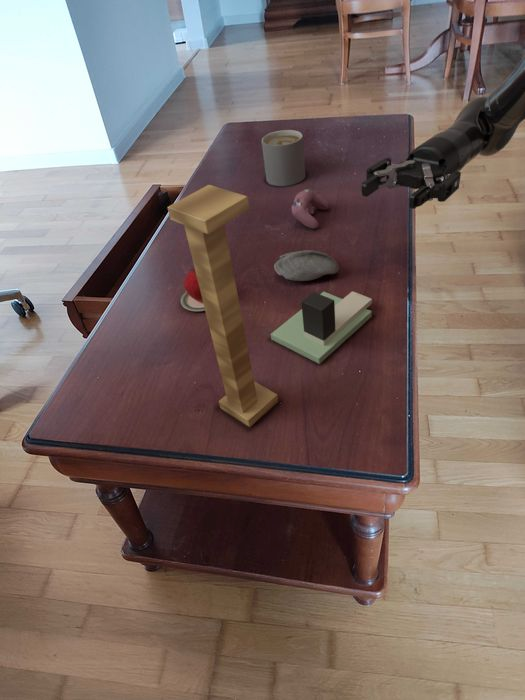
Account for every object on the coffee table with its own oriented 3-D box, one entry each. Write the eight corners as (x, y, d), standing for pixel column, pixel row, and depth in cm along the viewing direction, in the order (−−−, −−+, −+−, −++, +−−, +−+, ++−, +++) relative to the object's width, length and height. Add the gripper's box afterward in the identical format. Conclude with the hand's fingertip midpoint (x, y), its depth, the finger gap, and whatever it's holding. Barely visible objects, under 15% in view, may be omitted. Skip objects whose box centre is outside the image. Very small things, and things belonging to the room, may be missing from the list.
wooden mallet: (372, 303, 86) (373, 268, 81) (324, 346, 79) (322, 310, 75) (352, 295, 88) (352, 260, 83) (304, 336, 82) (301, 301, 77)
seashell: (340, 261, 99) (339, 238, 95) (338, 286, 93) (337, 263, 89) (279, 262, 101) (276, 239, 98) (273, 286, 95) (270, 263, 92)
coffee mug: (304, 184, 125) (301, 143, 119) (264, 187, 127) (259, 147, 120) (306, 162, 135) (304, 123, 129) (269, 165, 137) (264, 126, 130)
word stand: (278, 401, 74) (247, 196, 53) (249, 427, 71) (205, 221, 50) (248, 383, 77) (208, 184, 56) (220, 408, 74) (166, 206, 53)
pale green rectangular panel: (371, 316, 85) (371, 310, 84) (319, 364, 78) (319, 358, 78) (323, 296, 91) (323, 291, 90) (271, 339, 84) (270, 334, 83)
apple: (176, 296, 97) (167, 266, 92) (215, 282, 98) (209, 253, 94) (189, 318, 91) (180, 288, 87) (230, 303, 93) (224, 273, 88)
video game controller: (313, 213, 117) (298, 187, 114) (330, 206, 114) (315, 179, 111) (301, 236, 110) (284, 208, 107) (319, 228, 108) (302, 200, 105)
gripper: (404, 130, 89) (348, 164, 81) (484, 142, 81) (431, 182, 73) (401, 172, 94) (349, 208, 86) (476, 188, 86) (426, 230, 78)
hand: (387, 196), depth 79 cm, fingers open, 8 cm apart
